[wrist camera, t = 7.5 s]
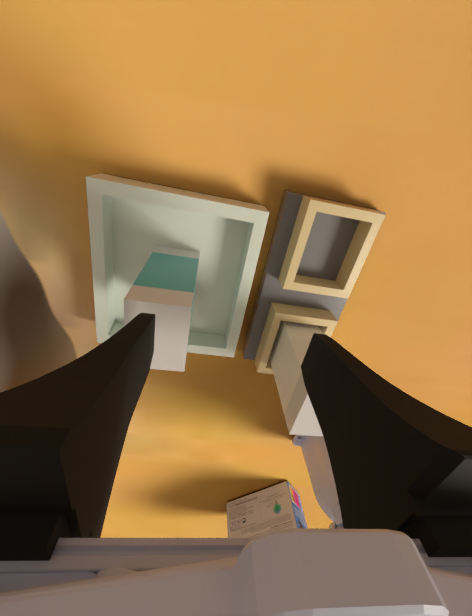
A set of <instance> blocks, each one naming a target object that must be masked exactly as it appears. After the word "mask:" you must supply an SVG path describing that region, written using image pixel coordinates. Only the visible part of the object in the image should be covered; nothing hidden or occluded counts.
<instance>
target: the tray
mask: <svg viewBox="0 0 472 616" xmlns="http://www.w3.org/2000/svg"><path fill="white" fill-rule="evenodd" d="M86 189H87V204H88V218H89V233H90V247H91V262H92V276H93V291H94V305H95V319H96V334H97V343H103V342H104V341H106V340H107V339H109V338H110V337H111V336H113V335H114V334H115V333H116V332H118V331H119V330H120V329H121V328H123V327H124V298H125V296H126V295H127V293H128V291H129V290H130V288H131V287H132V285H133V283H134V282H135V280H136V278H137V277H138V275H139V274H140V272H141V270H142V269H143V267H144V265H145V264H146V262H147V261H148V259H149V257H150V256H151V254H152V252H153V251H154V249H155V248H156V246H157V245H160V246H166V247H173V248H180V249H187V250H193V251H200V256H199V264H198V273H197V282H196V291H195V299H194V307H193V314H192V321H191V328H190V335H189V342H188V350H187V352H188V353H197V354H206V355H215V356H225V357H234V355H235V351H236V347H237V343H238V339H239V335H240V331H241V327H242V323H243V319H244V314H245V310H246V306H247V302H248V298H249V294H250V290H251V286H252V282H253V278H254V274H255V270H256V266H257V262H258V258H259V254H260V249H261V245H262V241H263V237H264V233H265V229H266V225H267V221H268V217H269V213H270V212H269V211H268V210H267V209H266V208H265V207H264V205H258V204H253V203H248V202H243V201H238V200H233V199H228V198H223V197H218V196H213V195H208V194H203V193H198V192H193V191H188V190H183V189H178V188H173V187H168V186H163V185H158V184H153V183H148V182H143V181H138V180H133V179H128V178H123V177H118V176H113V175H108V174H103V173H100V174H95V175H90V176H86Z"/></svg>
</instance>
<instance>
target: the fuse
mask: <svg viewBox="0 0 472 616" xmlns="http://www.w3.org/2000/svg"><path fill="white" fill-rule="evenodd" d="M314 333H317V334H323V333H322V331H321V329H320V327H319V326H318V325H311V324H303V323H296V322H288V321H281V322H280V325H279V328H278V331H277V334H276V337H275V340H274V343H273V346H272V349H271V353H270V356H269V358H270V362H271V366H272V370H273V374H274V378H275V382H276V385H277V389H278V393H279V397H280V401H281V405H282V409H283V412H284V416H285V420H286V424H287V428H288V432H289V434H292V435H307V436H322V437H323V434H322V431H321V428H320V425H319V423H318V420H317V417H316V415H315V412H314V409H313V407H312V404H311V401H310V399H309V396H308V393H307V390H306V387H305V384H304V380H303V375H302V370H301V364H302V362H303V359H304V357H305V354H306V352H307V349H308V347H309V344H310V341H311V339H312V336H313V334H314Z"/></svg>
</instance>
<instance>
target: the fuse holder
mask: <svg viewBox="0 0 472 616" xmlns="http://www.w3.org/2000/svg"><path fill="white" fill-rule="evenodd" d="M385 214H386V213H385V212H382V211H379V210H375V209H371V208H366V207H361V206H356V205H352V204H347V203H342V202H337V201H333V200H328V199H323V198H318V197H314V196H309V195H304V194H299V193H295V192H290V191H285V193H284V196H283V200H282V204H281V208H280V212H279V215H278V219H277V223H276V227H275V231H274V234H273V238H272V242H271V246H270V250H269V253H268V257H267V261H266V265H265V269H264V272H263V276H262V280H261V284H260V288H259V291H258V295H257V299H256V303H255V307H254V311H253V314H252V318H251V322H250V326H249V330H248V333H247V337H246V341H245V345H244V349H243V358H244V359H249V360H255V365H256V371H257V373H265V374H273V370H272V366H271V362H270V358H269V356H270V353H271V349H272V346H273V343H274V340H275V337H276V334H277V331H278V328H279V325H280V322H281V321H288V322H296V323H303V324H311V325H318V326H319V327H320V329H321V331H322V333H323V334H326V335H328V336H329V337H331V335H332V333H333V331H334V329H335V326H336V324H337V322H338V319H339V317H340V314H341V312H342V310H343V308H344V305H345V303H346V301H347V299H348V297H349V295H350V293H351V291H352V289H353V286H354V284H355V282H356V280H357V277H358V275H359V273H360V271H361V269H362V266H363V264H364V262H365V260H366V257H367V255H368V253H369V251H370V248H371V246H372V244H373V242H374V240H375V237H376V235H377V233H378V231H379V228H380V226H381V224H382V222H383V220H384V217H385Z"/></svg>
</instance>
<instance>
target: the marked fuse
mask: <svg viewBox="0 0 472 616" xmlns="http://www.w3.org/2000/svg"><path fill="white" fill-rule="evenodd" d="M199 256H200V251H193V250H187V249H180V248H173V247H166V246H160V245H157V246H156V248H155V249H154V251H153V252H152V254H151V256H150V257H149V259H148V261H147V262H146V264H145V265H144V267H143V269H142V270H141V272H140V274H139V275H138V277H137V278H136V280H135V282H134V283H133V285H132V287H131V288H130V290H129V291H128V293H127V295H126V296H125V298H124V326H125V325H126V324H128V323H129V322H130V321H131V320H132V319H133V318H135V317H136V316H137V315H138V314H139V313H149V314H155V337H154V353H153V357H152V362H151V366H150V369H157V370H169V371H181V372H184V371H185V364H186V357H187V350H188V342H189V335H190V328H191V321H192V314H193V307H194V299H195V291H196V282H197V273H198V264H199Z"/></svg>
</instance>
